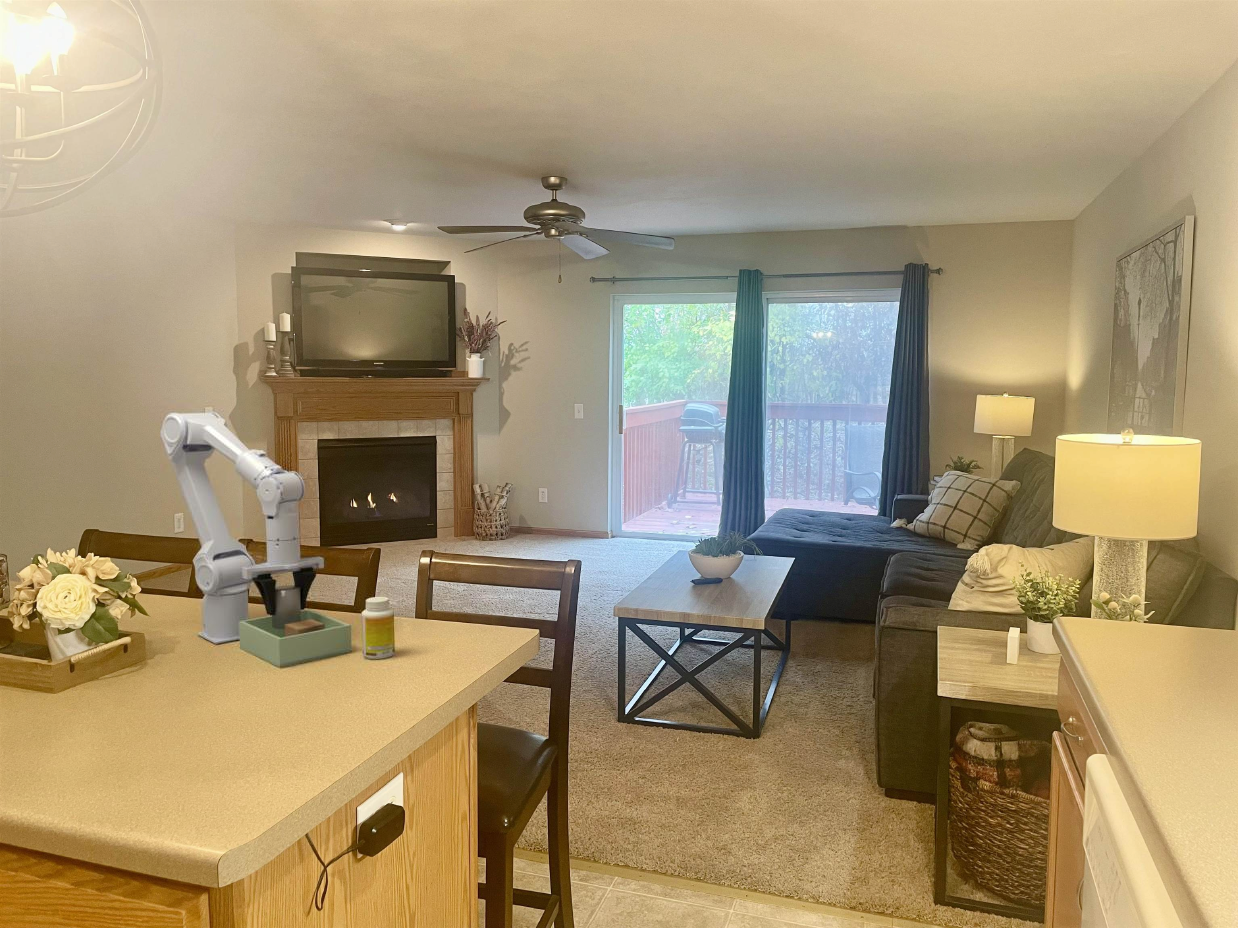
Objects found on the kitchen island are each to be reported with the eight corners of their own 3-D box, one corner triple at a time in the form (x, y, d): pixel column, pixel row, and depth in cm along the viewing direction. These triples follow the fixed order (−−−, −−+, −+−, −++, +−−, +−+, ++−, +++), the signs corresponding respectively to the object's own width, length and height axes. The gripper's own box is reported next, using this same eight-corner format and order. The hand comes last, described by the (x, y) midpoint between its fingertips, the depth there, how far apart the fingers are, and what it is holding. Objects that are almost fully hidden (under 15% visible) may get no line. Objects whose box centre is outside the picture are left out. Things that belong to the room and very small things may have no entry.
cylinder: (268, 625, 165) (266, 588, 164) (294, 620, 168) (293, 584, 167) (278, 630, 161) (277, 592, 160) (305, 625, 164) (304, 588, 164)
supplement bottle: (400, 656, 158) (398, 599, 158) (370, 662, 155) (368, 604, 154) (386, 649, 163) (385, 594, 162) (357, 655, 159) (355, 598, 158)
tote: (240, 648, 164) (238, 621, 164) (308, 634, 173) (307, 608, 173) (280, 668, 152) (278, 639, 151) (351, 652, 161) (350, 624, 160)
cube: (299, 657, 156) (298, 629, 155) (285, 651, 159) (284, 624, 159) (325, 651, 159) (324, 623, 159) (312, 646, 163) (311, 619, 162)
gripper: (252, 546, 155) (255, 622, 156) (330, 536, 166) (332, 608, 167) (236, 541, 160) (239, 615, 162) (313, 532, 171) (315, 602, 172)
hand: (285, 611), depth 164 cm, fingers closed on cylinder, 5 cm apart
